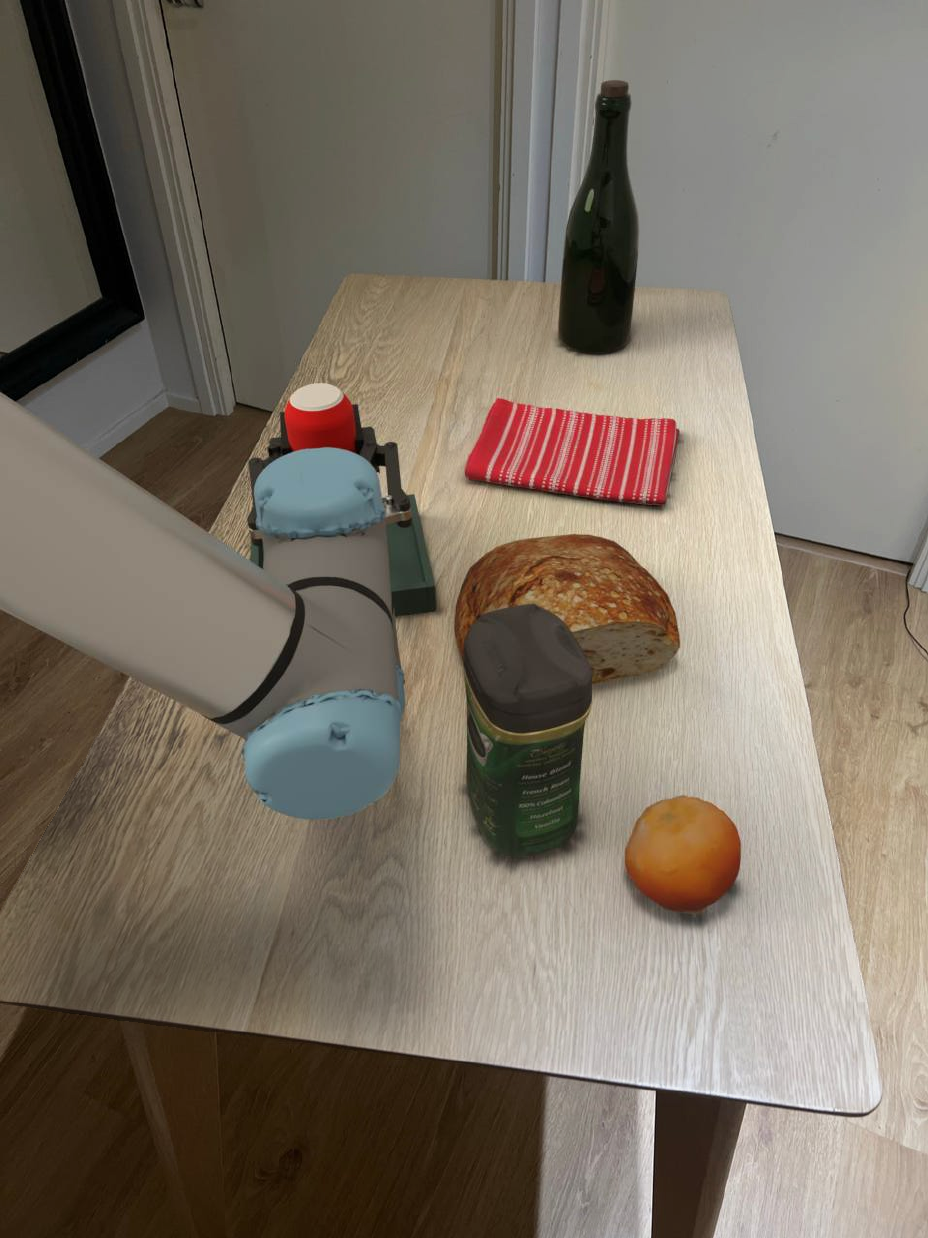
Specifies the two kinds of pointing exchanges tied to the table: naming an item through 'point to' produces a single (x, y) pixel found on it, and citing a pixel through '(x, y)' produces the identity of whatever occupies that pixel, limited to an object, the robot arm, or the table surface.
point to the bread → (578, 599)
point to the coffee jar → (525, 728)
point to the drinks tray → (400, 566)
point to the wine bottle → (602, 237)
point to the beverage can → (320, 418)
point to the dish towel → (575, 453)
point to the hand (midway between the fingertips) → (320, 420)
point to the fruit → (683, 854)
